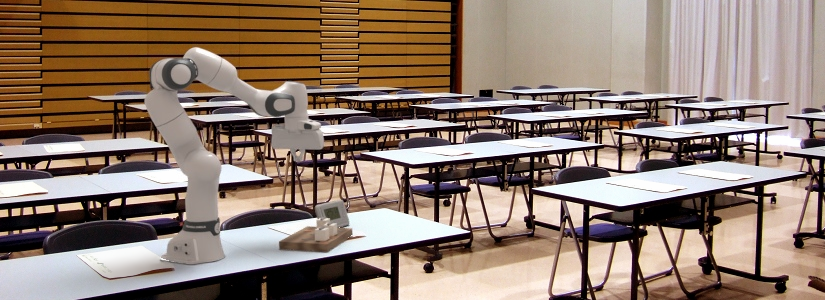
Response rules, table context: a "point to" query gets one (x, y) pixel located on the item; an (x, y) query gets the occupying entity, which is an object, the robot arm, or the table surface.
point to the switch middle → (331, 228)
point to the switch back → (322, 221)
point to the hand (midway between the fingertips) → (298, 160)
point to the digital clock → (333, 212)
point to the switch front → (321, 234)
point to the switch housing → (313, 240)
